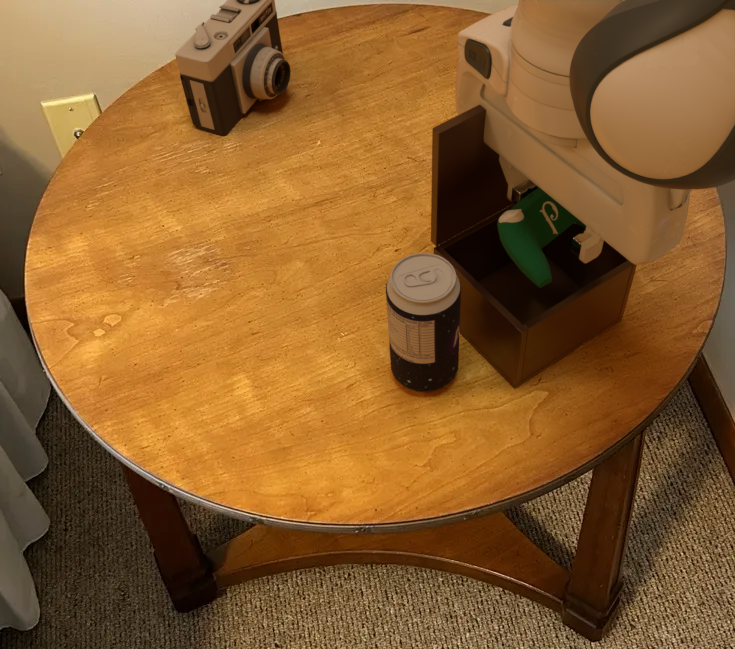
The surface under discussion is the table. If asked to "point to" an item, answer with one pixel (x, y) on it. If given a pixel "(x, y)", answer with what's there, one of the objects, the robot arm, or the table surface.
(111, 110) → the table surface
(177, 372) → the table surface
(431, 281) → the beverage can
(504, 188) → the lid
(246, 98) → the camera
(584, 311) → the chest
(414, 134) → the table surface
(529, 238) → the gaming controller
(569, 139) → the robot arm
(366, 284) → the table surface
